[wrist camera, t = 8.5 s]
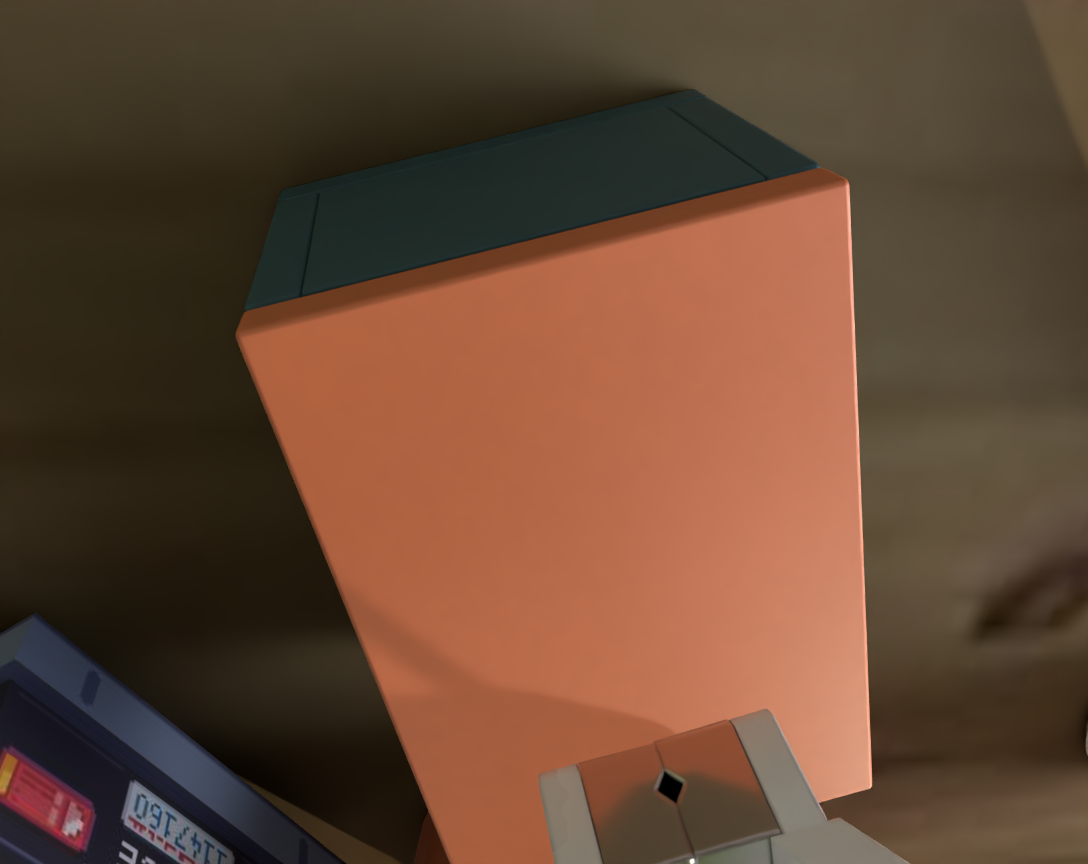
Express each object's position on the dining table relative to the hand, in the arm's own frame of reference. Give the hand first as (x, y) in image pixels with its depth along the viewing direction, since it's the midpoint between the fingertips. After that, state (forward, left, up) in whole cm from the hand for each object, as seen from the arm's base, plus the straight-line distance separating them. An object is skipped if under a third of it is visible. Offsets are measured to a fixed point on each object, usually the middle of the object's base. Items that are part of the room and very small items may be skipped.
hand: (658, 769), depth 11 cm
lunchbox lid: (0, 0, -4) cm, 4 cm away
